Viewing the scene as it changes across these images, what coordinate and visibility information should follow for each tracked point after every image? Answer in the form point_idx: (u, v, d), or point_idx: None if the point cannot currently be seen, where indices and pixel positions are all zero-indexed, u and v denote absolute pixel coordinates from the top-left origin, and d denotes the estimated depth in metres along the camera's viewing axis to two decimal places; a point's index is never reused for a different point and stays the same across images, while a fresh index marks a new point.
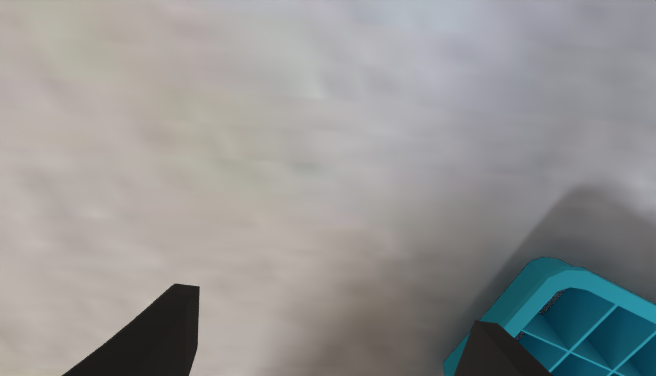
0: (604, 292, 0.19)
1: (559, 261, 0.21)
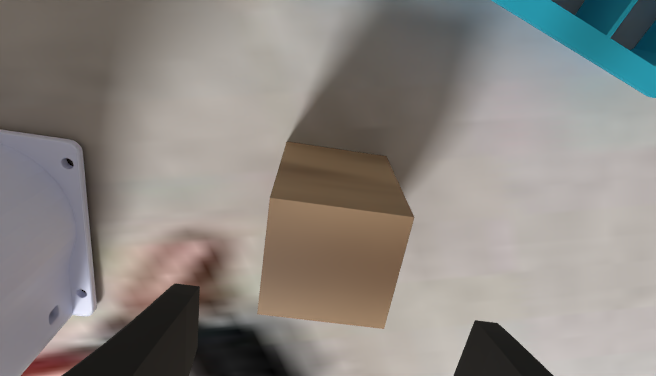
0: None
1: None
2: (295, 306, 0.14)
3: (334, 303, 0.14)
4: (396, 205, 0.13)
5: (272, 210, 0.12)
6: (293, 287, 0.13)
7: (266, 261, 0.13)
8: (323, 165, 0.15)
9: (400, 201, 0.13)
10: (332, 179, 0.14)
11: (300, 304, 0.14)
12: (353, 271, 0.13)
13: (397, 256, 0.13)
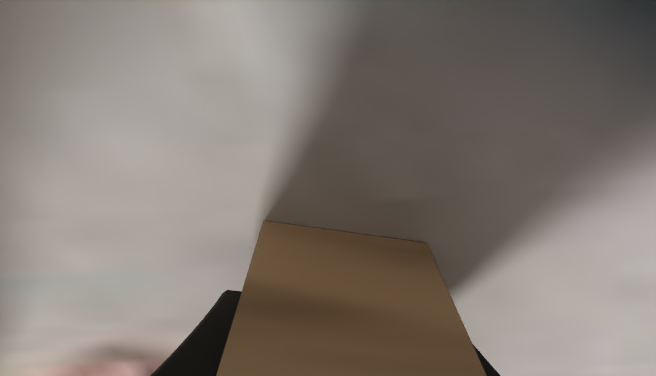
0: None
1: None
2: None
3: None
4: None
5: None
6: None
7: None
8: (323, 286, 0.08)
9: None
10: (341, 330, 0.07)
11: None
12: None
13: None
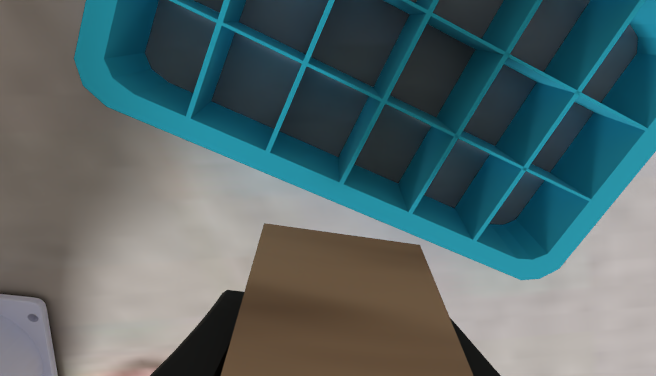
0: None
1: None
2: None
3: None
4: None
5: None
6: None
7: None
8: (321, 287, 0.09)
9: None
10: (338, 329, 0.08)
11: None
12: None
13: None
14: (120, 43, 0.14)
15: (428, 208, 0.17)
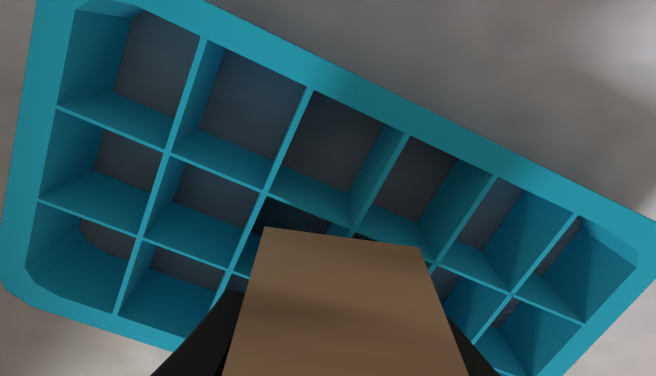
0: (166, 7, 0.10)
1: None
2: None
3: None
4: None
5: None
6: None
7: None
8: (320, 291, 0.09)
9: None
10: (336, 333, 0.08)
11: None
12: None
13: None
14: (44, 243, 0.13)
15: None
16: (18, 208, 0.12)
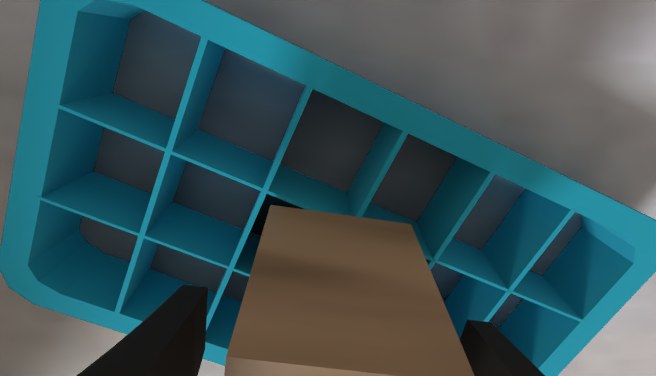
0: (167, 8, 0.10)
1: None
2: None
3: None
4: (443, 350, 0.08)
5: (231, 375, 0.07)
6: None
7: None
8: (321, 255, 0.10)
9: (448, 338, 0.08)
10: (336, 288, 0.09)
11: None
12: None
13: None
14: (47, 241, 0.14)
15: None
16: (21, 207, 0.12)
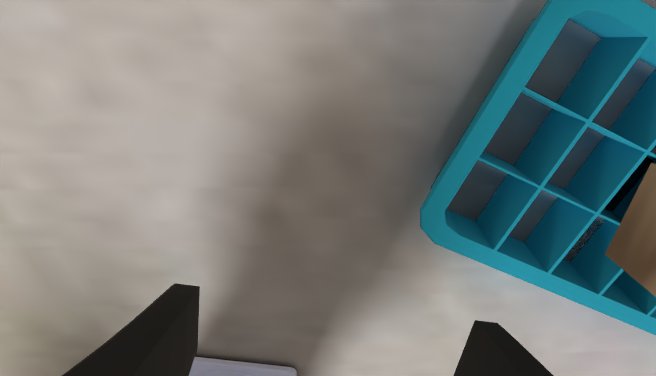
0: (632, 17, 0.14)
1: None
2: None
3: None
4: None
5: None
6: None
7: None
8: None
9: None
10: None
11: None
12: None
13: None
14: None
15: None
16: (461, 165, 0.16)
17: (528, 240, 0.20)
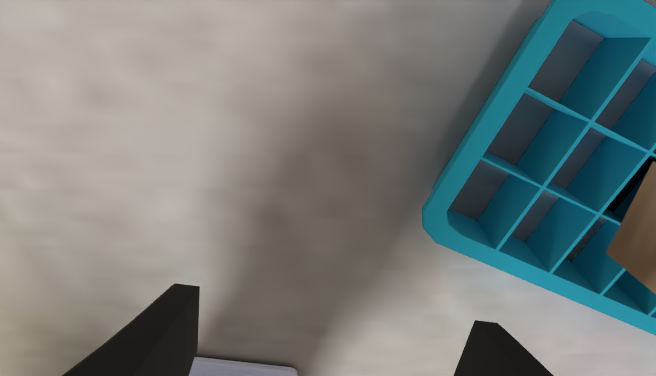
0: (636, 17, 0.14)
1: None
2: None
3: None
4: None
5: None
6: None
7: None
8: None
9: None
10: None
11: None
12: None
13: None
14: None
15: None
16: (464, 165, 0.16)
17: (529, 240, 0.21)
